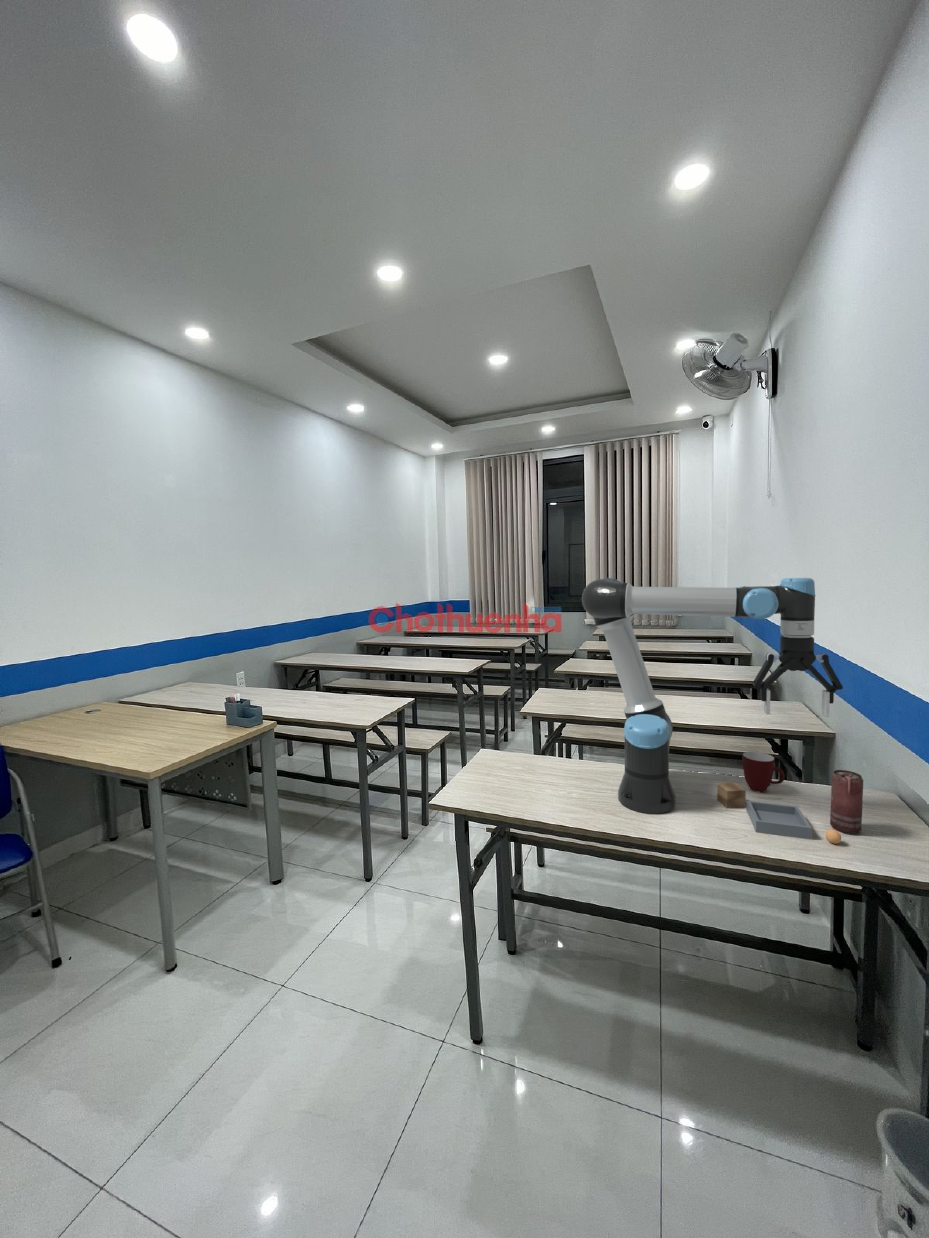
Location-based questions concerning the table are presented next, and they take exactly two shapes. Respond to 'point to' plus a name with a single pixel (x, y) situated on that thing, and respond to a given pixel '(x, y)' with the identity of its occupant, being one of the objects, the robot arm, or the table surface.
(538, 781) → the table surface
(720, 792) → the walnut block
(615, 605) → the robot arm
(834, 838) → the rubber ball
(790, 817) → the tray
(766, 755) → the mug
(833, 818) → the can
